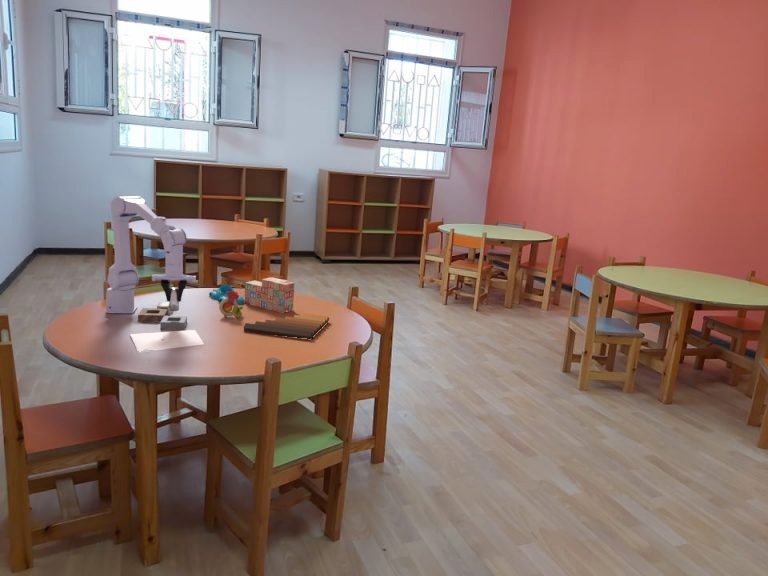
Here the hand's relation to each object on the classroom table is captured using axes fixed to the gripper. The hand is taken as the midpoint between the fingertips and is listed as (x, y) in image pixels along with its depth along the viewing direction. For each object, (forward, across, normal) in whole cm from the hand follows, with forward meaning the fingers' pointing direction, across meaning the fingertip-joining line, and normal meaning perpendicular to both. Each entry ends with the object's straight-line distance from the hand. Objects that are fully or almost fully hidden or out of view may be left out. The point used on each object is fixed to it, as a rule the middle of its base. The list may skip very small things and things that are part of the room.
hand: (174, 300), depth 204 cm
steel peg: (+3, 0, 0) cm, 3 cm away
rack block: (+9, 0, 0) cm, 9 cm away
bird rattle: (+10, +20, +13) cm, 25 cm away
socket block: (+9, -8, +9) cm, 15 cm away
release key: (+9, -6, +18) cm, 21 cm away
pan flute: (+10, +41, +1) cm, 42 cm away
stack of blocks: (+10, +34, +29) cm, 46 cm away
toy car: (+10, +16, +38) cm, 43 cm away
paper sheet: (+10, +2, -22) cm, 24 cm away
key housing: (+9, -6, +17) cm, 20 cm away
